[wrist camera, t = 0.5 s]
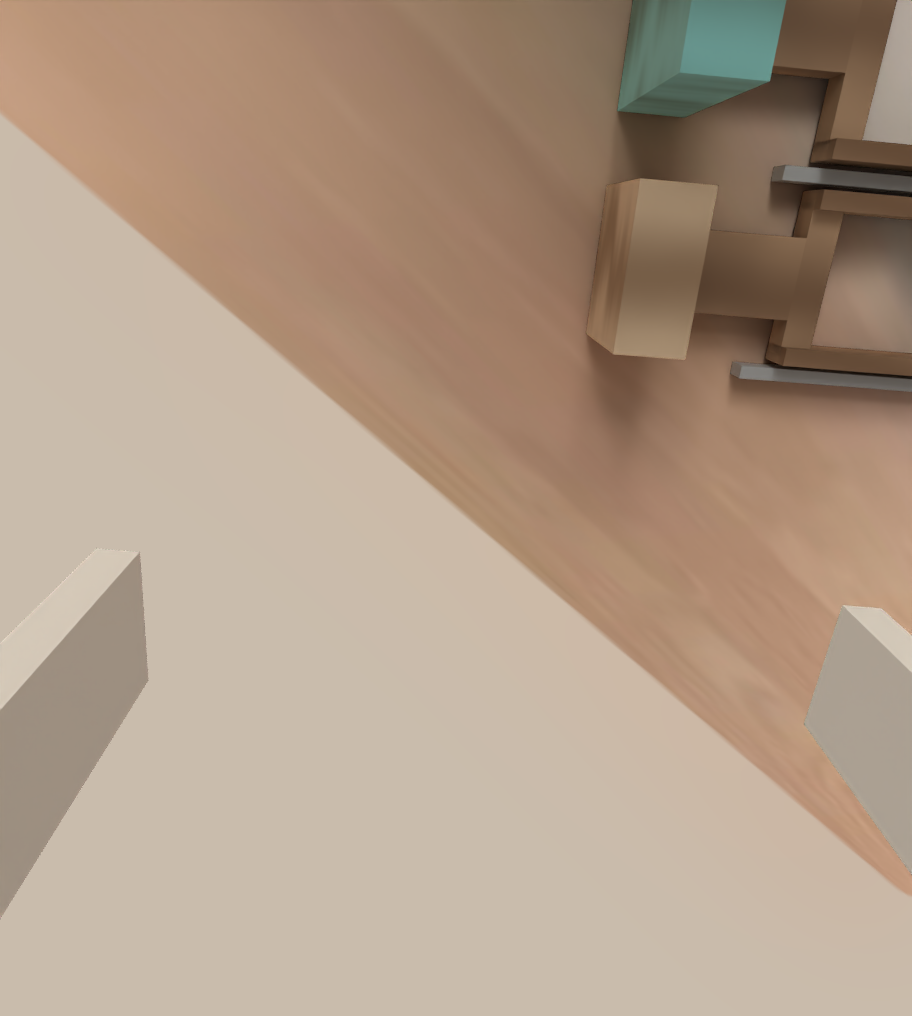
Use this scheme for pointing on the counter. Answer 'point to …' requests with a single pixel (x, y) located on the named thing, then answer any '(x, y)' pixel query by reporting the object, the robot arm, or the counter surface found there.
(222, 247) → the counter surface
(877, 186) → the lane rails
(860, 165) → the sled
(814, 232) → the sled
